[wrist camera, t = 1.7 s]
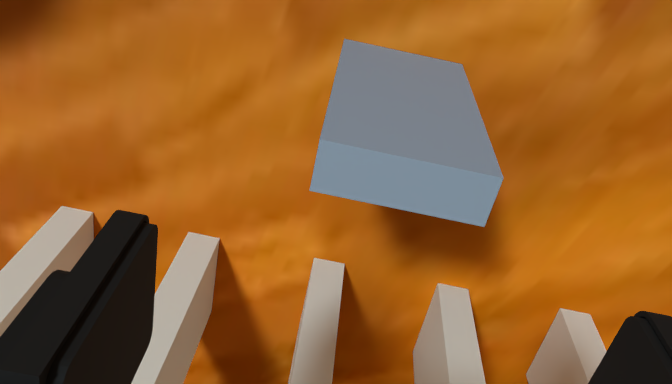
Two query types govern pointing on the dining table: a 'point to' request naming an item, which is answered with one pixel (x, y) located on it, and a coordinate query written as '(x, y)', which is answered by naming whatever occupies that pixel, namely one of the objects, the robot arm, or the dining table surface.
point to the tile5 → (43, 259)
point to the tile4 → (180, 312)
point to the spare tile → (406, 136)
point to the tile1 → (568, 351)
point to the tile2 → (448, 341)
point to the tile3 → (318, 325)
